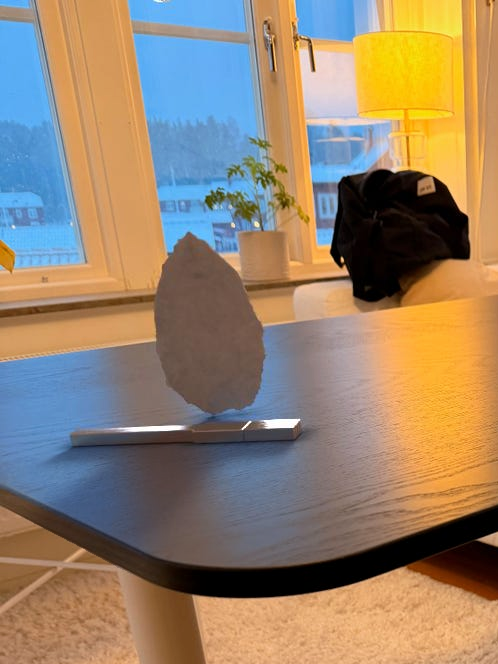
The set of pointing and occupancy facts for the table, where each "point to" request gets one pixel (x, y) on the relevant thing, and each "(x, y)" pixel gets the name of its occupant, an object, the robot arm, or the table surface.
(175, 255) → the stone tool
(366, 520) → the table surface
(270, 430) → the grey long bar
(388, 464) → the table surface
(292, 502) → the table surface
